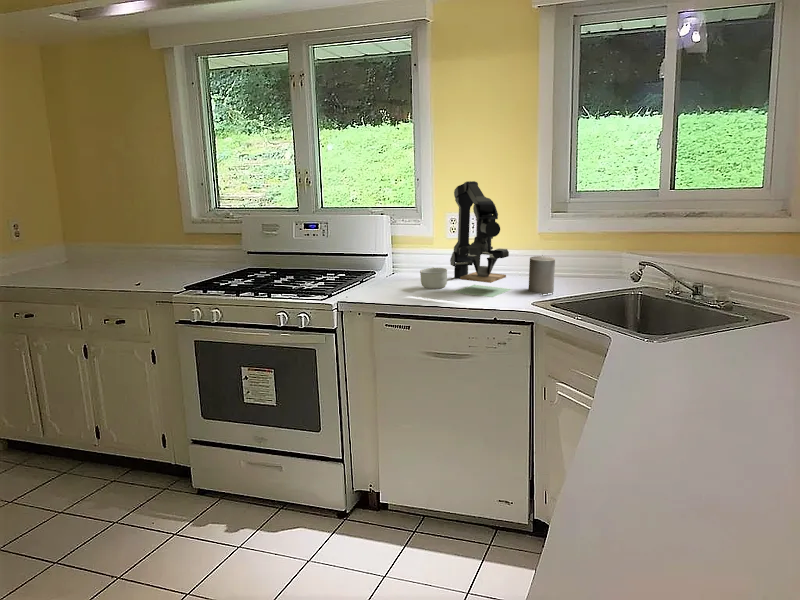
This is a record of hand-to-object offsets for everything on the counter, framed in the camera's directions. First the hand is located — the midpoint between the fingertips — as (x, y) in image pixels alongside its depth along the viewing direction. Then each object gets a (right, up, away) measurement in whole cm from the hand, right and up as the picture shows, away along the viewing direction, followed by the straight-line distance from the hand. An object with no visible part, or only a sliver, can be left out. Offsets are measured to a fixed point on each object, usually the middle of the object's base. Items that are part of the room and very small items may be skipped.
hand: (483, 274), depth 266 cm
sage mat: (0, -7, +2) cm, 8 cm away
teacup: (-18, -6, +12) cm, 23 cm away
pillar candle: (+22, -8, +1) cm, 24 cm away
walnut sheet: (0, -2, 0) cm, 2 cm away
